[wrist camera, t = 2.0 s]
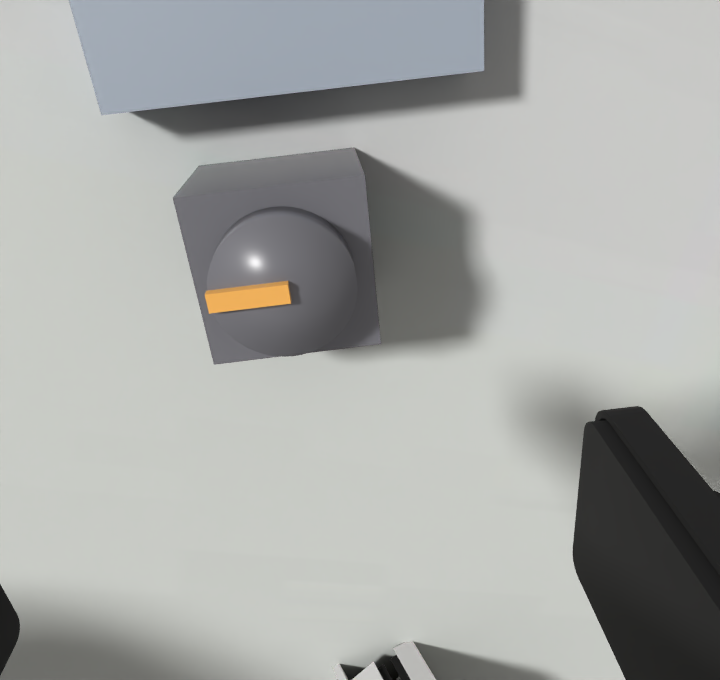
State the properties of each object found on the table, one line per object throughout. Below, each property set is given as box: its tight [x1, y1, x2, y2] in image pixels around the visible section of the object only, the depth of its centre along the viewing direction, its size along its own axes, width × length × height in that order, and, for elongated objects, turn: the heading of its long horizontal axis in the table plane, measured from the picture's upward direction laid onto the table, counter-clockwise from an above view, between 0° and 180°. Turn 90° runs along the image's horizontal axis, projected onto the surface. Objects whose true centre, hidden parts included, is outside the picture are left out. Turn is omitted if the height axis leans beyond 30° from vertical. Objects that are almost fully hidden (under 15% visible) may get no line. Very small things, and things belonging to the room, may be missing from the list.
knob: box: [173, 148, 381, 365], centre depth 20 cm, size 6×6×6 cm
